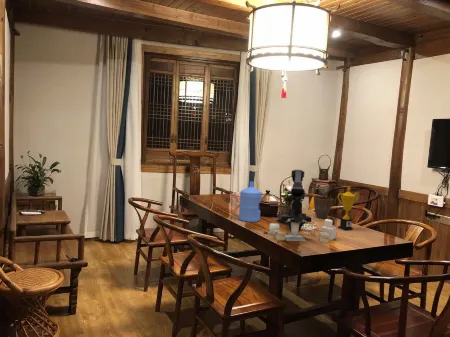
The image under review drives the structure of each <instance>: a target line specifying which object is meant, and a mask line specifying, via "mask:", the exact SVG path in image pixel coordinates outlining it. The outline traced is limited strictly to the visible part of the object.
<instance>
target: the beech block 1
mask: <svg viewBox="0 0 450 337" xmlns="http://www.w3.org/2000/svg"><path fill="white" fill-rule="evenodd" d="M285 235H286V232H285V231H284V230H281V229H279V230H274V234H273V235H272V236H273V237H272V238H273V240H276V241H277V242H279V241H286V239H285Z"/></svg>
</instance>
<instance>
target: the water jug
mask: <svg viewBox="0 0 450 337" xmlns="http://www.w3.org/2000/svg"><path fill="white" fill-rule="evenodd" d="M248 185H249V187H246V188H244V189H241V190H240V193H239V209H238V213H239V214H238V220H240V221H243V222H246V221H247V223H256V222H259V221H261V210H260V203H261V202H262V198H263V197H262V196H263V192H262V191H261V190H259V189H257V188H255V187H254V185H255V181H249V184H248Z"/></svg>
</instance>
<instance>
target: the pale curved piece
mask: <svg viewBox="0 0 450 337" xmlns="http://www.w3.org/2000/svg"><path fill="white" fill-rule="evenodd" d="M274 230H280V223H275V222H271V223H269V231H268V232H269V234H270V235H272V236H273V234H274Z"/></svg>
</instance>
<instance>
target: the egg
mask: <svg viewBox="0 0 450 337" xmlns="http://www.w3.org/2000/svg"><path fill="white" fill-rule="evenodd" d="M299 233H300V232H299V222H298V223H294V222H292V223H291V232H289V235H293V236H298V235H299Z"/></svg>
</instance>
